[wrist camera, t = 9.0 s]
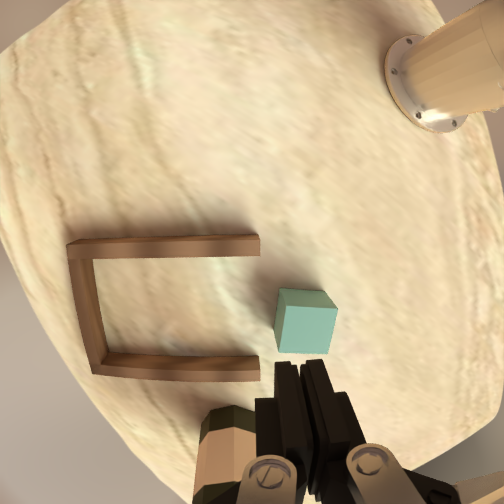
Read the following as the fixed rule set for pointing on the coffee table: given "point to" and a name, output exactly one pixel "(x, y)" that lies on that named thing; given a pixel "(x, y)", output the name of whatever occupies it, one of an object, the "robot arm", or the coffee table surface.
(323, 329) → the teal block
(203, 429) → the wine bottle
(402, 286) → the coffee table surface
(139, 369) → the frame
